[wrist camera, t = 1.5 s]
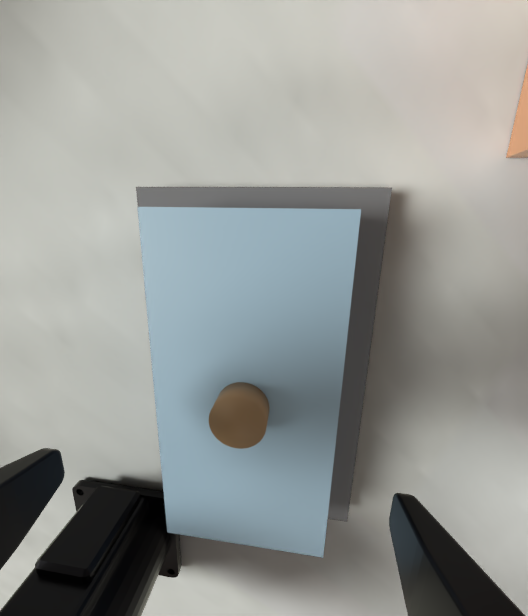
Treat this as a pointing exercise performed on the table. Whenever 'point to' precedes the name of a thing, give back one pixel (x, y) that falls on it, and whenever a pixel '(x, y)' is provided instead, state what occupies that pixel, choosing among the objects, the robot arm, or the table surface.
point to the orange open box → (520, 126)
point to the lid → (248, 366)
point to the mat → (363, 292)
